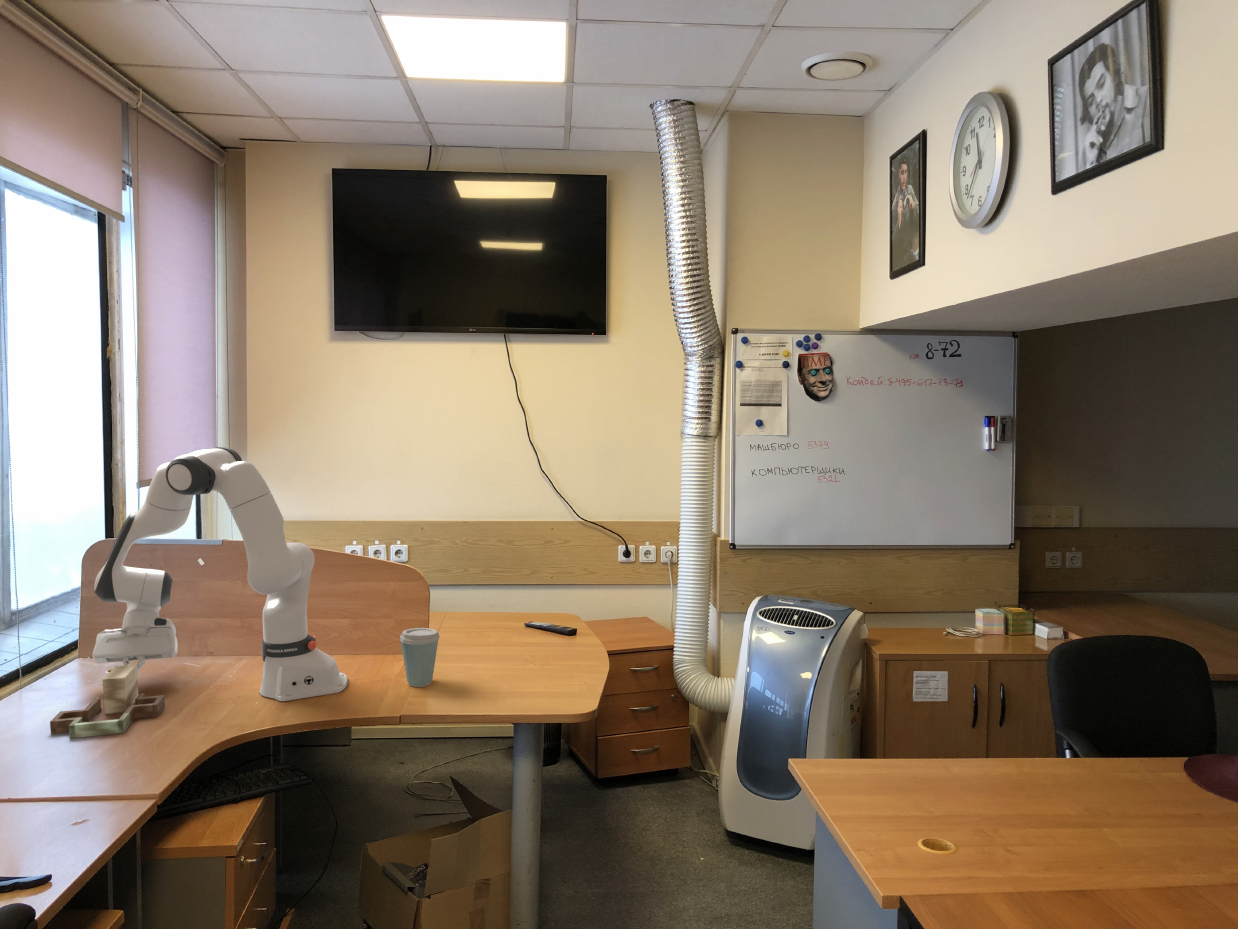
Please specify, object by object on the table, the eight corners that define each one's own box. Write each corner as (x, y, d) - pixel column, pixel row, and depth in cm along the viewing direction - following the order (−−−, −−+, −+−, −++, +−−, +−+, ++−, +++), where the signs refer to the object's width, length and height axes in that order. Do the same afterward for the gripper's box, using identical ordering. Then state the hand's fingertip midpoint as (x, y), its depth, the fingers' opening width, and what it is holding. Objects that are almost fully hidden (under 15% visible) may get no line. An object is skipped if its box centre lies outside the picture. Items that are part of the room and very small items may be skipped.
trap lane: (167, 702, 219) (167, 691, 219) (148, 730, 202) (147, 718, 202) (72, 711, 214) (72, 699, 213) (44, 740, 196) (43, 728, 196)
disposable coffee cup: (411, 675, 239) (410, 623, 237) (447, 677, 237) (445, 625, 235) (394, 688, 228) (392, 634, 227) (431, 691, 226) (429, 637, 225)
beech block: (138, 697, 223) (136, 664, 222) (127, 712, 213) (124, 677, 212) (117, 699, 222) (115, 666, 221) (104, 714, 212) (102, 679, 211)
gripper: (94, 625, 229) (84, 672, 221) (177, 619, 234) (170, 665, 226) (101, 636, 234) (91, 682, 226) (182, 630, 239) (175, 675, 231)
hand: (131, 673), depth 226 cm, fingers closed
